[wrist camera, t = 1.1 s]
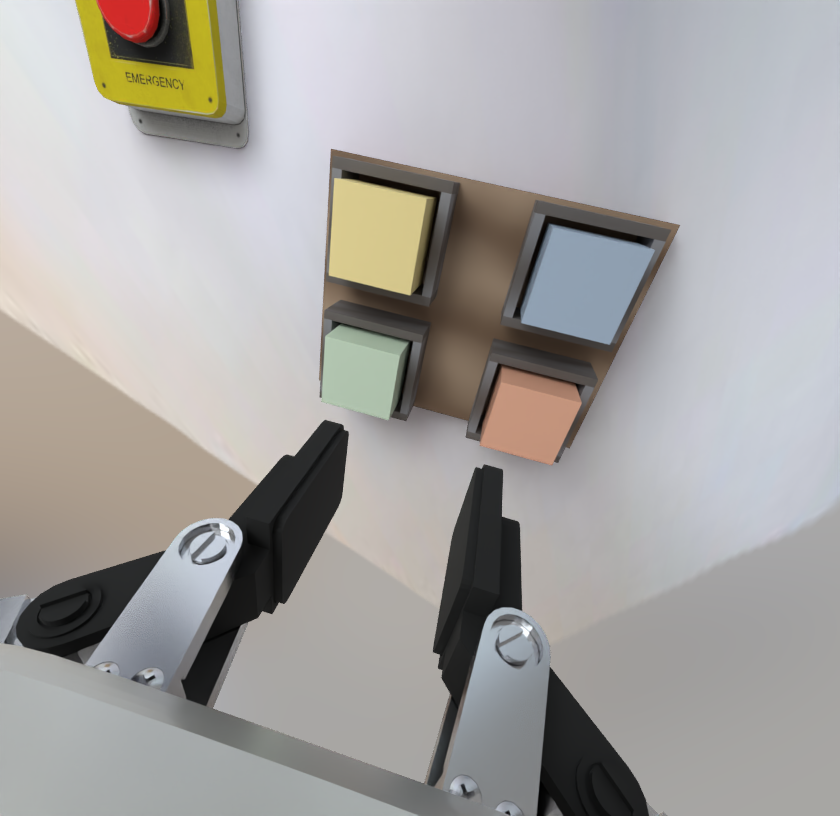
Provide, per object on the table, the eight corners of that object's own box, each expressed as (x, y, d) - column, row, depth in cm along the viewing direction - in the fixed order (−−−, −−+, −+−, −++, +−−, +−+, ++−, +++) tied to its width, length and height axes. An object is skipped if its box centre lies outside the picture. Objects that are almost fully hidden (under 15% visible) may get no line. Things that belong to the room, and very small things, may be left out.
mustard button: (355, 179, 24) (334, 178, 21) (437, 197, 23) (426, 198, 20) (348, 266, 26) (328, 275, 23) (421, 283, 26) (410, 295, 23)
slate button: (548, 222, 23) (553, 227, 20) (636, 242, 22) (655, 250, 19) (520, 307, 25) (521, 322, 22) (598, 326, 25) (609, 344, 22)
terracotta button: (502, 361, 27) (501, 382, 25) (574, 380, 27) (581, 403, 24) (482, 420, 30) (479, 445, 27) (548, 438, 30) (552, 465, 27)
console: (342, 151, 26) (310, 144, 22) (668, 222, 24) (701, 229, 20) (328, 370, 35) (303, 395, 31) (566, 434, 33) (574, 470, 29)
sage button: (344, 321, 28) (325, 336, 26) (411, 338, 28) (399, 355, 25) (339, 382, 31) (321, 401, 28) (400, 398, 31) (388, 420, 28)
